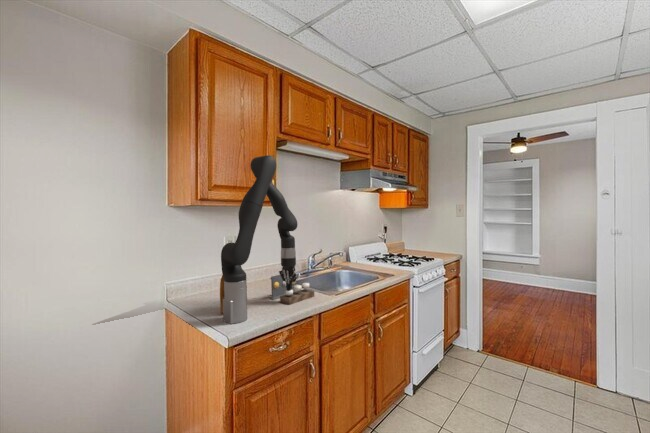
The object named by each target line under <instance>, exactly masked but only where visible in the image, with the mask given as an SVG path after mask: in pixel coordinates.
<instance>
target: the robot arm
mask: <svg viewBox="0 0 650 433" xmlns="http://www.w3.org/2000/svg"><path fill="white" fill-rule="evenodd" d="M249 165H250V170H251V172H252V174H253V175H254V177H255V181H254V183H253V184H252V185H251V187H250V188H249V189H248V191H247V192H246V193H245V194H244V196H243V197H242V200H241V204H240V206H239V209H238V223H239V225H238V226H239V228H238V234H237V237H236V240H235V242H228V243H226V244H224V245H223V246H222V249H221V252H220V261H221V262H220V264H221V266H220V267H221V273H222V275H223V276H224V291H225V298H224V299H223V314H222V320H223V322H226V323H228V324H230V325H233V324H237V323H242V322H245V321H247V320H248V285H247V272H246V271H245V270H244V269H243V267H242V266H243V265H245V263H246V262H248V259H249V257H250V254H251V252H252V251H251V250H252V244H253V241H254V240H253V239H254V236H255V232H256V230H257V225H258V221H259V218H260V215H261V213H262V209H263V206H264V203H265V200H266V197H267V198H268V200H269V202H270V205H271V206H272V207H271V208H272V210H273V211H274V214H275V215H276V216H278V217H280V218H279V219H278V221H277V231H278V236H279V238H280V266H281V270H279V271H278V273H279V275H281V277H282V279H283V281H285V283H286V289H287V290H288V291H290V290H292V282H295V281H296V282H297V279H298V278H299V275H300V273H298V272H297V271H296V265H297V256H296V252H297V251H296V240H295V236H293V235H291V233H290V232H294V231H296V230H297V228H298V220H297V218H296V216H295V214H293V212H292V211H291V209H290V208H289V206H288V204H287V201H286V200H285V197H284V195H283V194H282V193H281V191H280V190H279V189H278V188H277V187H276V186H275V184H274V183H273V181H272V180H273V178H274V176H275V174H276V171H277V162H276V158H275V157H273V156H272V155H268V154H267V155H261V156H256V157H254V158H252V159H251V162H250V164H249Z"/></svg>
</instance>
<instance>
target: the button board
mask: <svg viewBox="0 0 650 433" xmlns="http://www.w3.org/2000/svg"><path fill="white" fill-rule="evenodd" d="M314 297H315V290H313V289H309V288H302V289H301V290H300V291H296V292H293V295H283V296H280V298H279V299H280V300H279V302H280V303H283V304H286V305H289V306H290V305H294V304H296V303H300V302H301V301H305V300H307V299H312V298H314Z"/></svg>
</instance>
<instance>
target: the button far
mask: <svg viewBox="0 0 650 433" xmlns="http://www.w3.org/2000/svg"><path fill="white" fill-rule="evenodd" d="M309 288H310V282H302V283H301V289H309Z"/></svg>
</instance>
